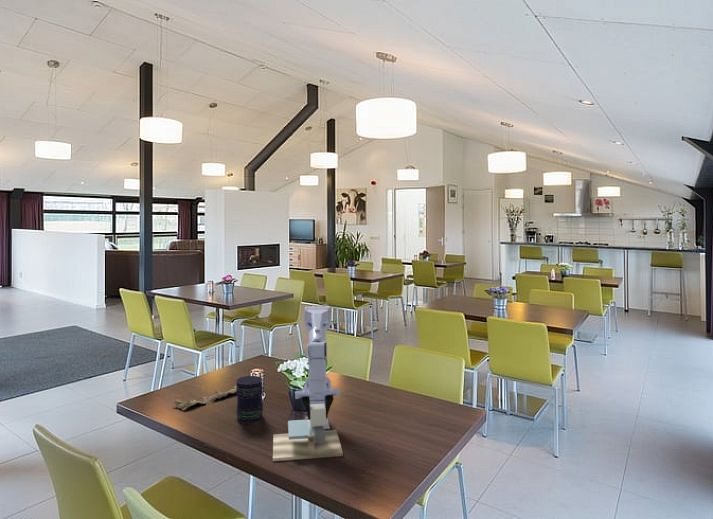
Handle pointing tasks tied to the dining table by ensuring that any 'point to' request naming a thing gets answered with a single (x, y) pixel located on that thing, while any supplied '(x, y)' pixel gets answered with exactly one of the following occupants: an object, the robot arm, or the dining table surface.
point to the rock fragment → (185, 404)
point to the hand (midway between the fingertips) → (317, 417)
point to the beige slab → (305, 447)
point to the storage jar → (249, 399)
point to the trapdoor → (305, 431)
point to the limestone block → (317, 415)
